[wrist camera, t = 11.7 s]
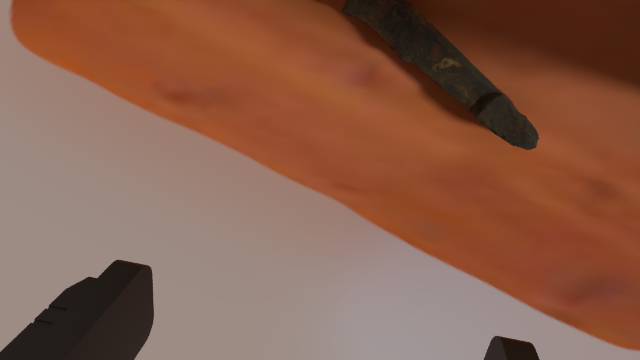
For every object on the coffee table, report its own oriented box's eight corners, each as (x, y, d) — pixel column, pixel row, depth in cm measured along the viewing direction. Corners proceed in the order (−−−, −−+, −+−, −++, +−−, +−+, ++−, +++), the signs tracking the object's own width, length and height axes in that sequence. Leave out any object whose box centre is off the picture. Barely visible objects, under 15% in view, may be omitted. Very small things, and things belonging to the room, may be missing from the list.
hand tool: (341, 4, 36) (334, 8, 32) (376, -38, 34) (374, -39, 30) (500, 158, 39) (514, 181, 35) (539, 127, 38) (558, 146, 33)
